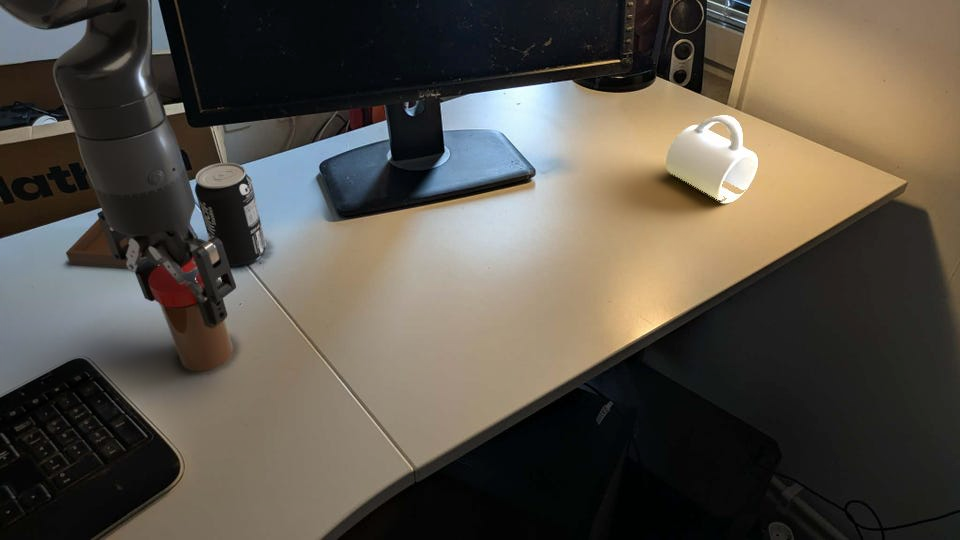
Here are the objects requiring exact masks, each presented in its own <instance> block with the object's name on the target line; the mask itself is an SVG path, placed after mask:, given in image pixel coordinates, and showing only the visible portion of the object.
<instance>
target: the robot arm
mask: <svg viewBox="0 0 960 540" xmlns="http://www.w3.org/2000/svg"><path fill="white" fill-rule="evenodd" d="M152 1H153V0H0V8H1V9H2V10H3V11H4V12H6V14H8V15H9V16H11V18H13V19H15V20H17V21H19V22H20V23H22V24H25V25H27V26H28V27H31V28H34V29H38V30H42V31H49V30H50V31H51V30H57V29H61V28H66V27H68V26H72V25H75V24H77V23H80V22H83V21H86V25H85V32H84V35H82V37H81V39H80V40H79V41H77V43H76V44H74V45H73V46H72V47H70V48H69V49H67V50H66V51H64V52H63V53H62V54H61V55H60V56H58V58H57V59H56V61H55V62H54V64H53V67H52V75H53V79H54V83H55V86H56V87H57V91H58V93H59V96H60V99H61V101H62V104H63V106H64V109H65V111H66V114H67V116H68V119H69V121H70V124H71V127H72V129H73V132H74V135H75V138H76V142H77V146H78V151H79V155H80V157H81V160H82V164H83V165H84V168H85V170H86V174H87V176H88V178H89V181H90V183H91V186H92V188H93V191H94V193H95V196H96V198H97V200H98V203H99V206H100V207H101V210H100V211H99V212H97V217H98V219H99V220H100V223H101V225H102V228H103V231H104V234H105V236H106V239H107V242H108V245H109V247H110V250H111V253H112V255H113V257H114V259H115V260H116V261H118V262H121V261H123V260H124V261H126V262H127V263H126V265H127V267H128V269H127V270H129V271H130V272H131V273H134V274H135V276H136V280H137V282H138V285H139V287H140V290H141V292H142V295H143V297H144V299H145V300H147V301H149V302H154V301H155V298H154V295H153V294H152V292H151V289H150V286H149V276H150V274H151V273H152V271H153V270H154V269H155V268H156V267H158V266H159V265H161V266H162V267H164V268H165V269H167V270H168V271H169V272H170V274H171V275H172V276H173V277H174V279H175V280H176V281H177V282H178V283H179V284H180V285H186V286H187V287H188V288H189V289H190V290H191V292H192V293H193V294H194V295H195V297H196V298H197V302H198V305H199V309H200V312H201V315H202V318H203V321H204V324H205V326H207V327H209V328H212V329H213V328H215V327H216V326H217V325H219V324H220V323H221V322H222V321H224V320H225V321H226V318H227V317H228V311H227V308H226V305H225V301H224V298H225V297H227V296H228V295H230V294H231V293H232V292H233V291H235V290H236V289H237V284H236V281H235V279H234V275H233V272H232V269H231V266H229V263H228V260H227V257H226V254H225V251H224V247H223V244H222V242H221V241H220V239H218V238H217V237H213V238H211V239H210V240H209V239H208V240H203V239H201V238H199V236H198V235H197V233H196V232H195V230H194V228H193V226H192V224H191V220H192V216H193V213H194V211H195V208H196V199H195V196H194V193H193V192H194V191H193V189H192V186H191V182H190V179H189V176H188V175H189V174H188V172H187V169H186V166H185V163H184V160H183V156H182V152H181V148H180V144H179V141H178V139H177V136H176V134H175V132H174V129H173V127H172V125H171V123H170V121H169V118H168V115H167V113H166V109H165V106H164V103H163V99H162V96H161V92H160V89H159V85H158V82H157V79H156V76H155V72H154V68H153V16H152V15H153V14H152V13H153V12H152V11H153V9H152V8H153V7H152ZM124 238H127V241H128V243H127V244H126V245H124V246H122V247H121V245H120V242H121V240H123V239H124ZM192 258H194V260H193V261H192V262H193V264H194V265H196V267H194V268H193V269H191V270H190V271H189V272H184V271H182V269H181V268H182V267H183V266H185V265H186V264H188V263H189V262H190V261H191V260H192ZM199 274H200V277H201V280H202V282H203V285H204V287H201V286H200V285H199V283H198V282H197V281H196V276H198V275H199Z"/></svg>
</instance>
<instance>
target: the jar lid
mask: <svg viewBox="0 0 960 540" xmlns="http://www.w3.org/2000/svg"><path fill="white" fill-rule="evenodd" d="M193 260H194V258H192V260H191V261H190V262H189V263H188V264H186V265H185V266H183V267H182V268H181V269H182V271H184V272H189V271H190V270H191V269H193V268H194V267H196V265H194V264H193V262H192V261H193ZM196 281H197V282H198V283H199V285H200V286H201V287H204V285H203V282H202V280H201V277H200V274H199V275H198V276H196ZM149 286H150V289H151V292H152V294H153V295H154V298H155V300H154V301H155V302H157V303H158V304H159V303H160V304H161V305H163V306H167V307H184V306H188V305H192V304H195V303H197V298H196V297H195V295H194V294H193V293H192V292H191V290H190V289H189V288H188V287H187V286H186V285H180V284H179V283H178V282H177V281H176V280H175V279H174V277H173V276H172V275H171V274H170V272H169V271H168V270H167V269H165V268H164V267H162V266H161V265H158V267H156V268H155V269H154V270H153V271H152V273H151V274H150V276H149ZM160 304H159V305H160Z"/></svg>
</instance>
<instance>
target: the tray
mask: <svg viewBox="0 0 960 540" xmlns="http://www.w3.org/2000/svg"><path fill="white" fill-rule="evenodd" d="M127 243H128V241H127V238H124V239H123V240H121V242H120V245H121V247H122V246H124V245H126V244H127ZM65 254H66V256H67V259H68V261H69V263H70V265H71V266H81V267H95V268H109V269H110V268H112V269H122V270H123V269H124V270H125V269H126V270H129V269H128V267H127V265H126V263H127V262H126V261H124V260H123V261H121V262H118V261H116V260H115V259H114V257H113V255H112V253H111V250H110V247H109V245H108V242H107V239H106V236H105V234H104V231H103V228H102V225H101V223H100V220H99V218H98V219H96V221H94V222H93V224H92V225H91V226H90V227H89V228H88V229H87V230H86V231H85V232H84V233H83V234H82V235H81V236H80V237H79V238H78V239H77V240H76V241H75V243H74V244H72V245H71V246H70V247H69V248H68V249H67V251H66V252H65Z"/></svg>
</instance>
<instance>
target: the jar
mask: <svg viewBox="0 0 960 540" xmlns="http://www.w3.org/2000/svg"><path fill="white" fill-rule="evenodd" d="M158 304H159V306H160V307H159V308H160V310H161V312H162V314H163V318H164V320H165V322H166V325H167V327H168V330H169V333H170V335H171V338H172V341H173V343H174V346H175V349H176V352H177V354H178V357H179V359H180V362H181V364H182V366H183V367H184V368H185V369H187V370H188V371H192V372H207V371H211V370H214V369H217V368H219V367H221V366H222V365H224V364H225V363H226V362H228V360H229V359H230V358H231V356H232V355H233V352H234V351H233V350H234V346H233V342H232V339H231V335H230V332H229V330H228V326H227V323H226V319H225V320H224V321H222V322H221V323H220V324H219V325H217V326H216V327H215V328H213V329H212V328H209V327H207V326H205V324H204V321H203V318H202V315H201V312H200V309H199V305H198V302H197V303H195V304H192V305H188V306H184V307H167V306H163V305H161V304H160V303H158Z"/></svg>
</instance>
